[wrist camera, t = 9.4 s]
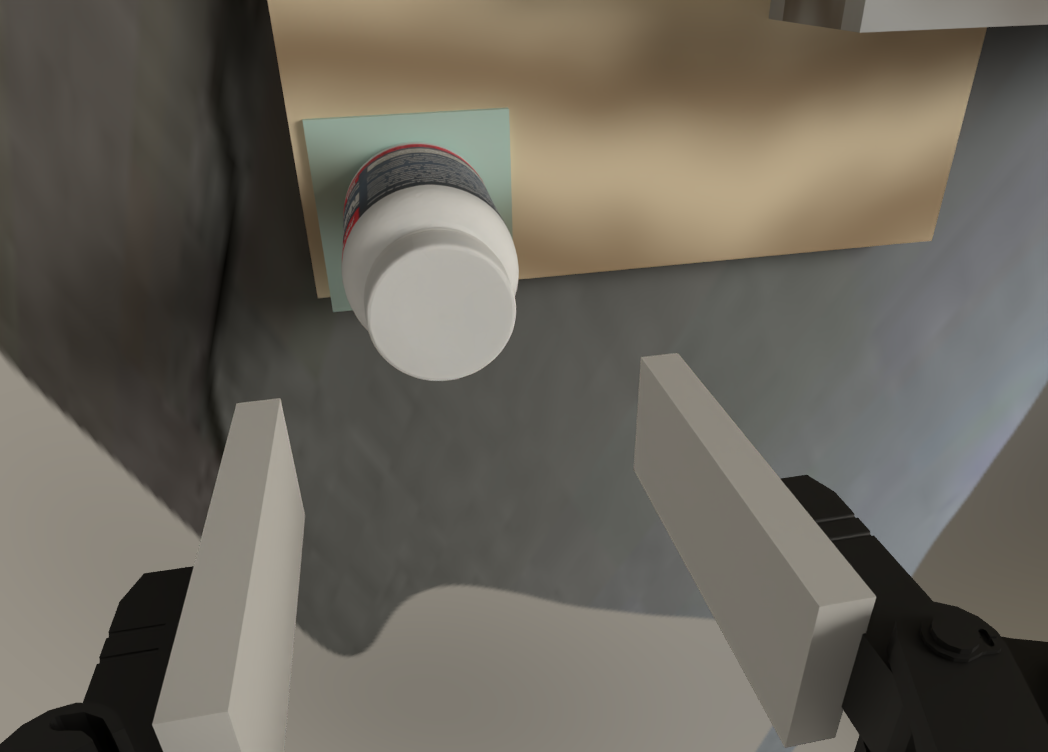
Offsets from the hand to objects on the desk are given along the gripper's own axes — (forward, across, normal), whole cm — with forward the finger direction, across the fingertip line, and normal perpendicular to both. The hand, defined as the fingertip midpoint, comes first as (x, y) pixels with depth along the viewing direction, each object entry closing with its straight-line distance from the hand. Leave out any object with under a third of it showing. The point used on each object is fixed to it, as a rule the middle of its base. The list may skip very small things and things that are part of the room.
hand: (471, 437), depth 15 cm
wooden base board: (+17, +9, +4) cm, 20 cm away
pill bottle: (+15, 0, 0) cm, 15 cm away
